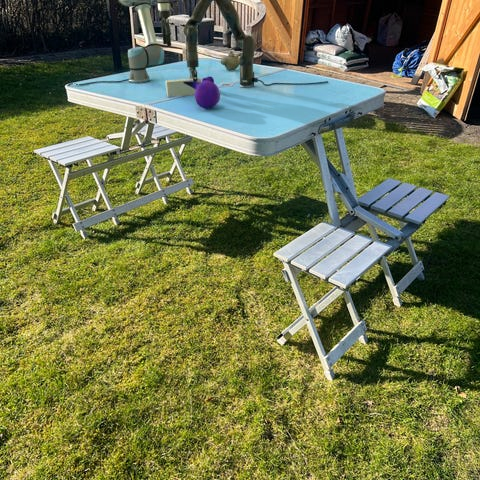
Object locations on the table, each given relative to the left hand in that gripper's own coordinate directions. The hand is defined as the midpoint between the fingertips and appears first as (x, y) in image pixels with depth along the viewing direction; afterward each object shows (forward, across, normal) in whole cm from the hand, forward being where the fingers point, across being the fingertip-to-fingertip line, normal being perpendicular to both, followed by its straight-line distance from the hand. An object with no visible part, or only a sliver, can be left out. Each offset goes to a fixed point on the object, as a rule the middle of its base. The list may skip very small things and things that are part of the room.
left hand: (167, 45), depth 307 cm
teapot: (+27, +42, -60) cm, 78 cm away
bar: (+28, -29, -3) cm, 40 cm away
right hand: (+23, -30, -10) cm, 39 cm away
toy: (+28, -66, -6) cm, 71 cm away
